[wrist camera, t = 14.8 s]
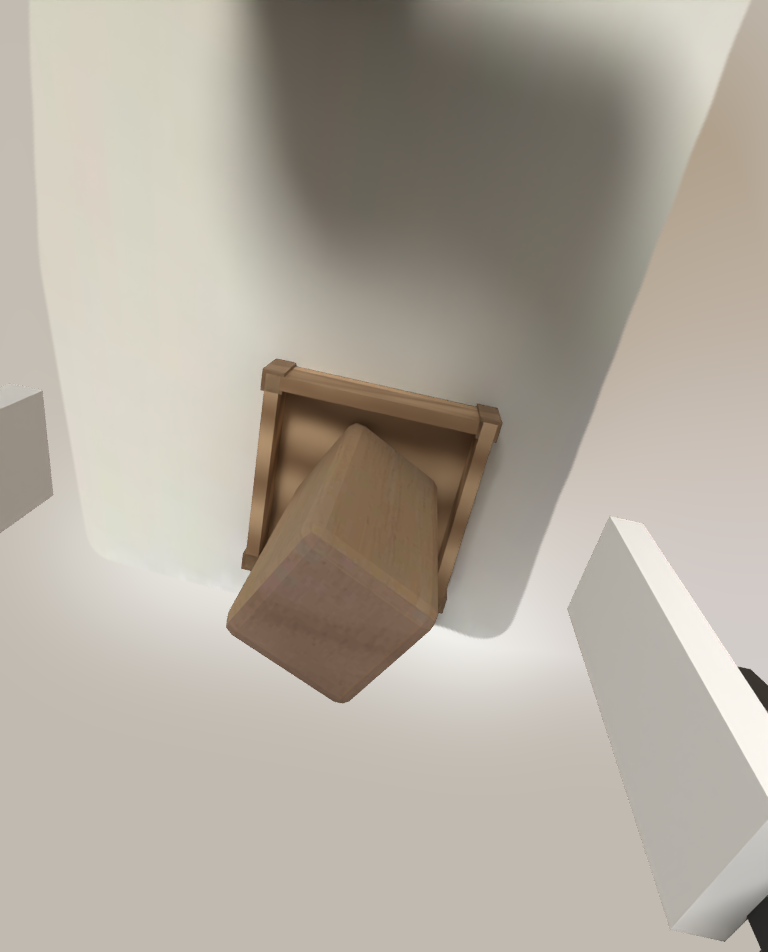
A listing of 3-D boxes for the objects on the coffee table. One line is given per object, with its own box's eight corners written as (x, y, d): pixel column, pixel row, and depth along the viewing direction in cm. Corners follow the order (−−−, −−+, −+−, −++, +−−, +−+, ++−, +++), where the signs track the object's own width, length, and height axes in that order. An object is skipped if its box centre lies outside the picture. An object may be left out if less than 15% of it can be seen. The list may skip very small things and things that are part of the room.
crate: (276, 358, 47) (262, 368, 43) (497, 408, 47) (502, 422, 43) (254, 546, 55) (241, 568, 51) (441, 588, 55) (442, 613, 51)
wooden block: (374, 550, 53) (342, 715, 35) (293, 490, 51) (214, 631, 33) (441, 482, 49) (445, 626, 31) (357, 414, 47) (307, 526, 29)
